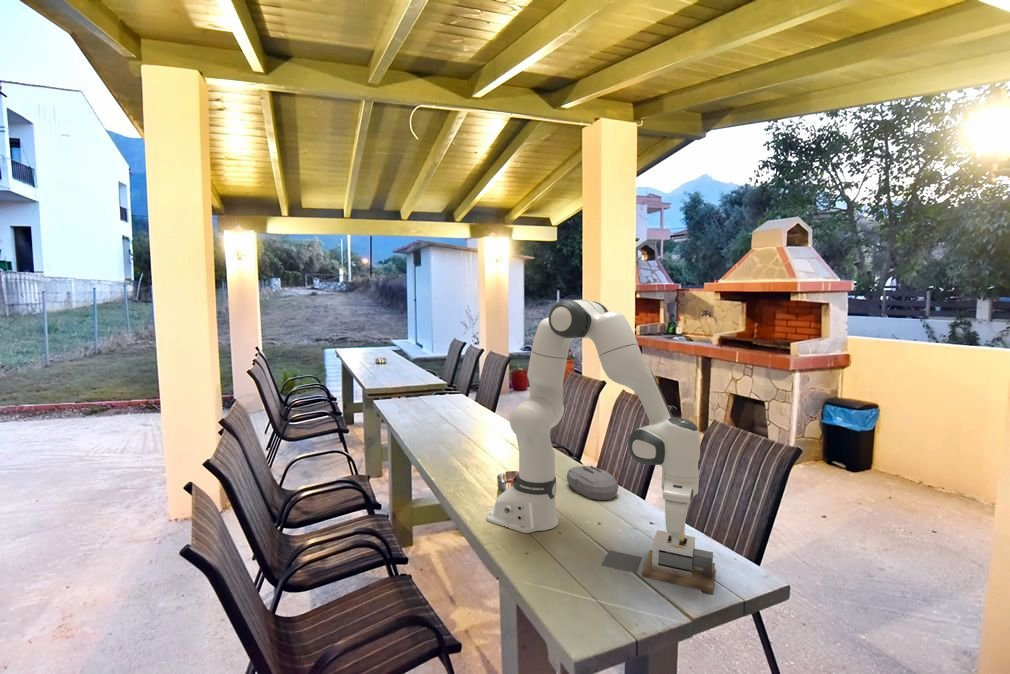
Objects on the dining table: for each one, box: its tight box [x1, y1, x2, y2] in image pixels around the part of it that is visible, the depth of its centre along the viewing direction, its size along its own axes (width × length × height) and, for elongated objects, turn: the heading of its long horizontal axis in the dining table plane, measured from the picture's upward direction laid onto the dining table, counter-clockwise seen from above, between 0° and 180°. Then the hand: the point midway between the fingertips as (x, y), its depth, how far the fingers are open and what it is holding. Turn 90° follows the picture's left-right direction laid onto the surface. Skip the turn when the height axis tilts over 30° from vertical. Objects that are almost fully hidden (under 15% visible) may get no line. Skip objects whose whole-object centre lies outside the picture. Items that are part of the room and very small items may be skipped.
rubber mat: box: [601, 549, 643, 574], centre depth 138 cm, size 9×9×1 cm
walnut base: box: [641, 549, 716, 595], centre depth 133 cm, size 16×13×2 cm
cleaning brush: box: [566, 465, 619, 501], centre depth 188 cm, size 15×8×20 cm
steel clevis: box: [652, 529, 714, 578], centre depth 133 cm, size 14×8×7 cm, turn 66°
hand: (677, 536), depth 133 cm, fingers open, 8 cm apart
